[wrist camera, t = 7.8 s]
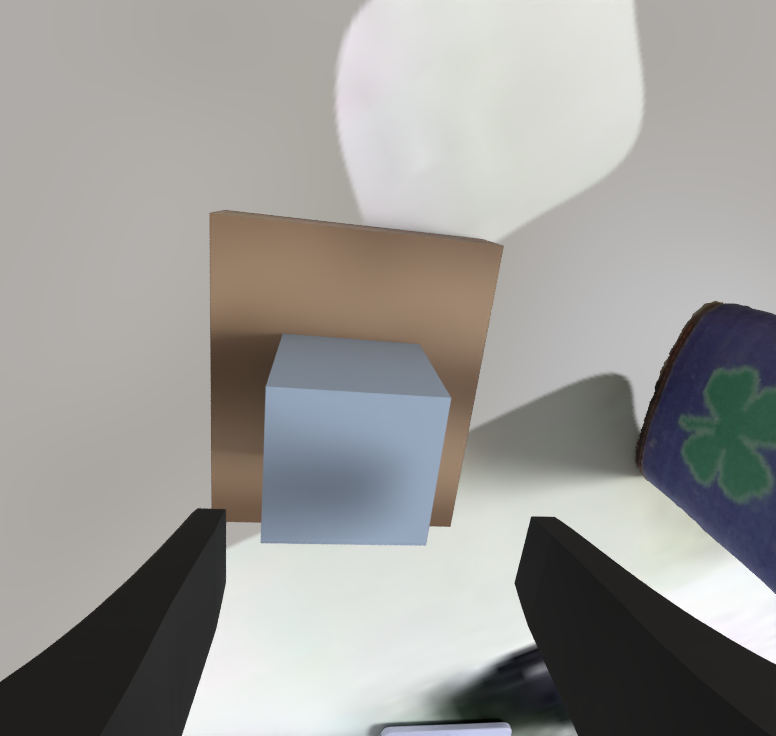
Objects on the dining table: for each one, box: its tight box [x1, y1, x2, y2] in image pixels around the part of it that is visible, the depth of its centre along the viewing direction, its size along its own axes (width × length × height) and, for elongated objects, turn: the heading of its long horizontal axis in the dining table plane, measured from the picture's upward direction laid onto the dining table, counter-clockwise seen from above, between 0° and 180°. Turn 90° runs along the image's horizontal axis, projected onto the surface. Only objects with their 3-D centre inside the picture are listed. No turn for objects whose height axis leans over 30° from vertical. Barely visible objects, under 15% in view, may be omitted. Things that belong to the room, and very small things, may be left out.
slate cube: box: [261, 334, 451, 546], centre depth 16 cm, size 5×5×5 cm
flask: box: [636, 301, 776, 594], centre depth 18 cm, size 9×3×11 cm, turn 168°
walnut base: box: [210, 210, 503, 527], centre depth 19 cm, size 12×10×2 cm
